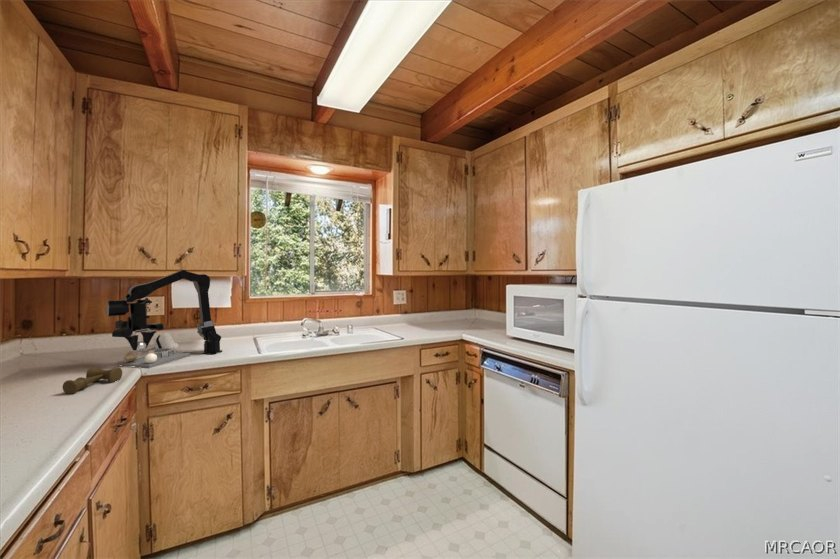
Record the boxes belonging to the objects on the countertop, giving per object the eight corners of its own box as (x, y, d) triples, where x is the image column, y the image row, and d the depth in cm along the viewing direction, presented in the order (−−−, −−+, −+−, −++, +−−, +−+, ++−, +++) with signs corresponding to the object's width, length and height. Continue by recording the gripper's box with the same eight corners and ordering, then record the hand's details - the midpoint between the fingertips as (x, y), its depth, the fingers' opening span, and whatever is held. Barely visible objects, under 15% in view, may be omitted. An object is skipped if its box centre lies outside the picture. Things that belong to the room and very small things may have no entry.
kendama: (54, 396, 119) (108, 376, 139) (82, 397, 119) (131, 376, 139) (53, 379, 119) (107, 361, 139) (81, 380, 119) (131, 362, 139)
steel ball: (149, 350, 156) (148, 340, 155) (139, 352, 151) (138, 342, 151) (140, 349, 156) (140, 339, 156) (130, 352, 152) (130, 342, 152)
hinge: (170, 353, 175) (161, 335, 174) (159, 357, 174) (150, 339, 172) (179, 346, 191) (171, 329, 189) (169, 349, 189) (161, 333, 187)
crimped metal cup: (180, 353, 170) (180, 348, 170) (161, 358, 160) (160, 353, 160) (163, 352, 172) (163, 347, 172) (142, 357, 162) (142, 352, 162)
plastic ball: (159, 362, 155) (159, 352, 155) (150, 364, 150) (150, 354, 150) (151, 361, 156) (151, 351, 155) (142, 364, 151) (141, 354, 151)
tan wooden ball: (139, 360, 157) (139, 351, 157) (129, 363, 153) (129, 353, 152) (131, 360, 158) (131, 350, 158) (121, 363, 154) (121, 353, 153)
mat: (190, 355, 170) (190, 353, 170) (149, 368, 150) (149, 365, 150) (163, 354, 173) (163, 351, 173) (119, 366, 153) (119, 363, 153)
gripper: (144, 310, 164) (145, 343, 165) (100, 316, 146) (102, 353, 146) (164, 311, 162) (165, 344, 162) (122, 317, 143) (123, 354, 144)
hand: (140, 349), depth 154 cm, fingers closed on steel ball, 4 cm apart
